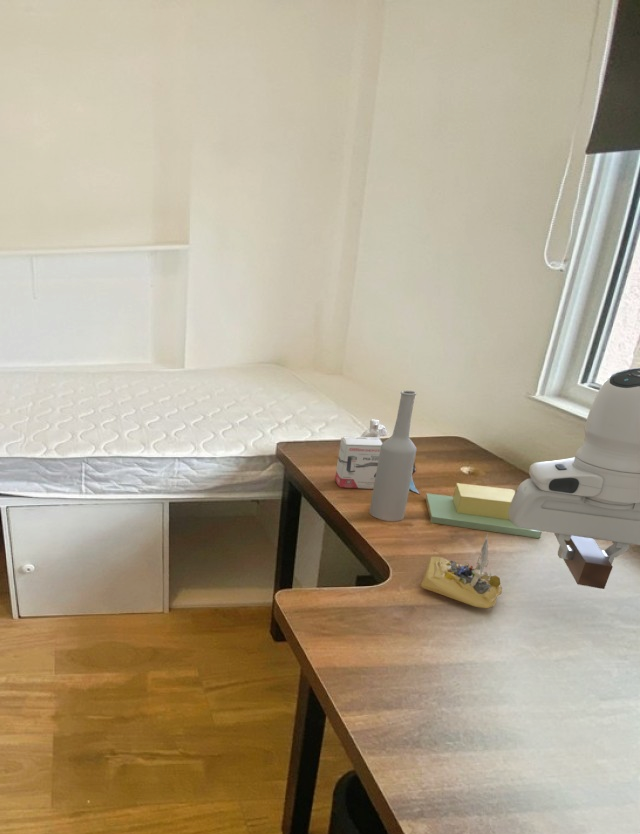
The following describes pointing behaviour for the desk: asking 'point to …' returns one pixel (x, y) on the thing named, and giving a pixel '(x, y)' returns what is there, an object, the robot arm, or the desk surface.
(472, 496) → the butter
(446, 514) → the butter dish
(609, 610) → the desk surface
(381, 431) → the koala figurine
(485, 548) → the toy boat
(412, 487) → the knife
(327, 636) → the desk surface
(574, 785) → the desk surface
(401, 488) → the bottle
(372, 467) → the ink box
